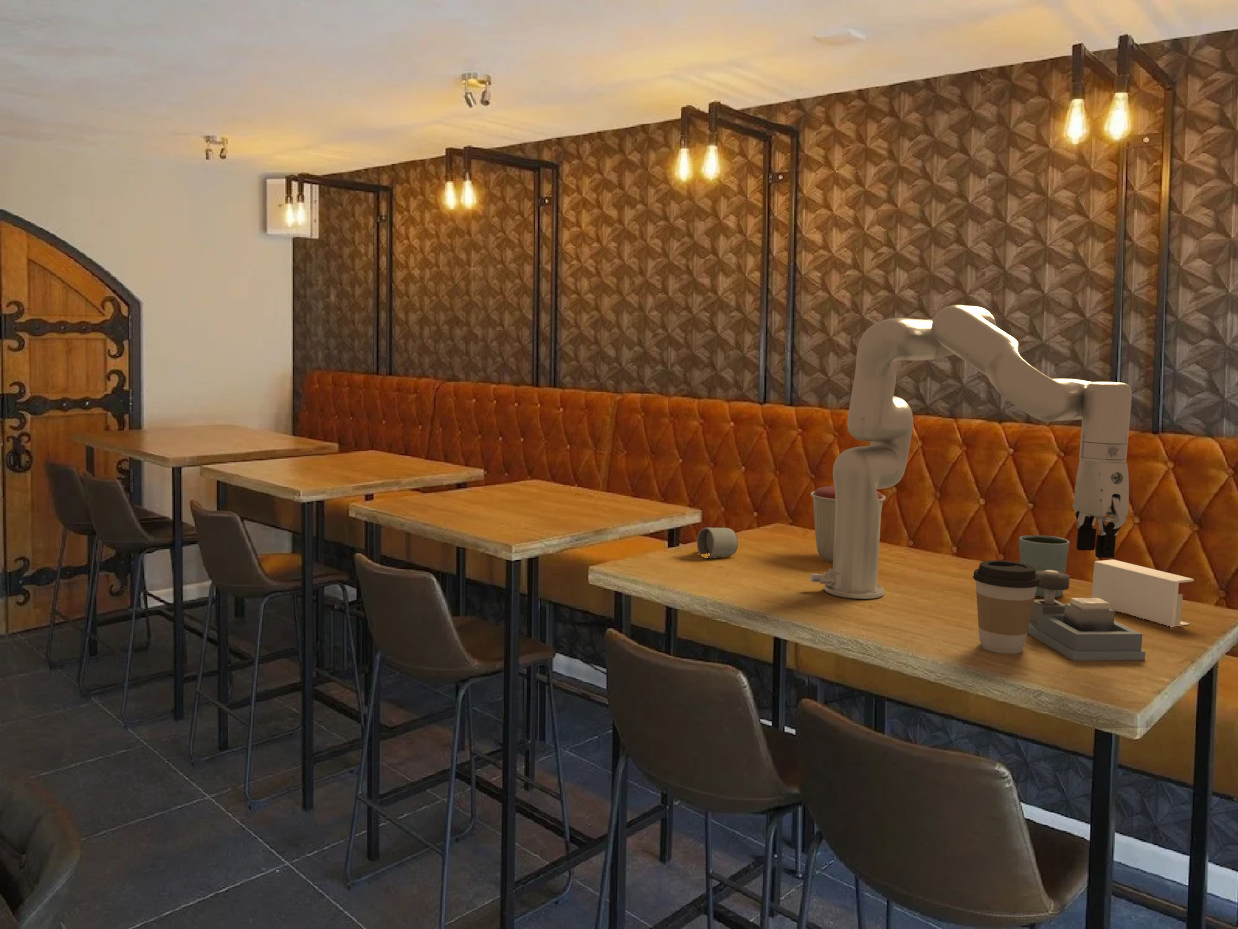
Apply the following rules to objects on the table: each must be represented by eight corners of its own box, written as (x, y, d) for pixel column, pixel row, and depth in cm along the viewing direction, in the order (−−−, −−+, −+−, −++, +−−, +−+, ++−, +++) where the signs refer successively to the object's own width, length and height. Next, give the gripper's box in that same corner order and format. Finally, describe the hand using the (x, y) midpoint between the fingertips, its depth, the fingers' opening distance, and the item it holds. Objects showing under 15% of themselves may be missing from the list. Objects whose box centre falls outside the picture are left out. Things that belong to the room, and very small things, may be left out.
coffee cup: (1019, 639, 186) (1025, 559, 184) (1047, 658, 175) (1053, 573, 173) (958, 638, 186) (963, 558, 184) (982, 657, 175) (988, 572, 173)
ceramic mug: (740, 558, 250) (740, 527, 249) (712, 561, 246) (713, 530, 245) (715, 551, 259) (716, 521, 259) (688, 553, 255) (689, 523, 255)
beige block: (1112, 643, 179) (1115, 604, 178) (1077, 643, 179) (1080, 604, 178) (1096, 635, 184) (1099, 597, 183) (1062, 635, 184) (1065, 597, 183)
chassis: (1073, 660, 174) (1075, 629, 173) (1013, 624, 196) (1014, 596, 195) (1144, 660, 175) (1147, 629, 175) (1077, 624, 197) (1079, 596, 196)
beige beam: (1190, 626, 198) (1194, 579, 197) (1170, 628, 196) (1175, 581, 195) (1104, 601, 216) (1108, 558, 215) (1085, 603, 214) (1089, 559, 213)
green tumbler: (1070, 599, 216) (1074, 544, 215) (1020, 596, 218) (1024, 542, 217) (1059, 588, 226) (1063, 536, 225) (1011, 585, 228) (1015, 533, 227)
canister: (793, 555, 256) (797, 472, 253) (853, 550, 263) (857, 470, 260) (835, 570, 239) (839, 482, 236) (897, 565, 246) (902, 480, 243)
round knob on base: (1041, 611, 188) (1043, 575, 187) (1024, 602, 194) (1026, 567, 193) (1073, 611, 188) (1076, 575, 187) (1056, 602, 195) (1059, 567, 194)
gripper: (1153, 458, 169) (1143, 564, 171) (1096, 447, 186) (1088, 544, 188) (1110, 457, 168) (1101, 564, 171) (1057, 446, 185) (1050, 544, 188)
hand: (1094, 552), depth 179 cm, fingers open, 5 cm apart
